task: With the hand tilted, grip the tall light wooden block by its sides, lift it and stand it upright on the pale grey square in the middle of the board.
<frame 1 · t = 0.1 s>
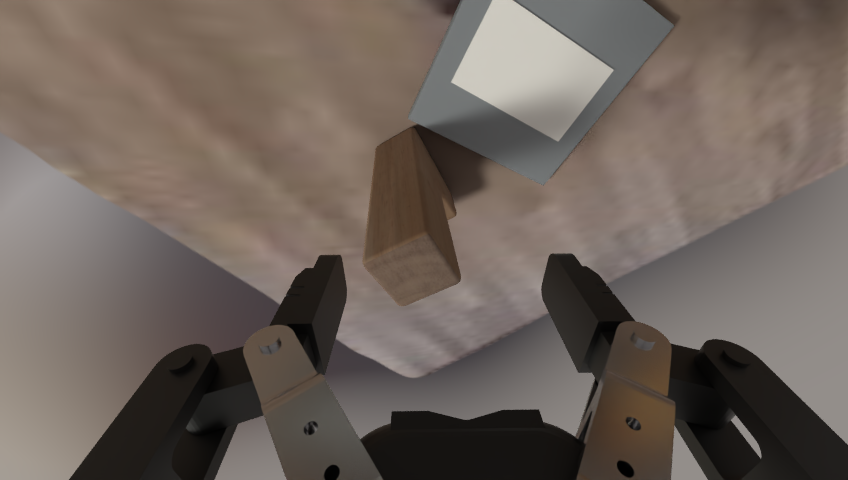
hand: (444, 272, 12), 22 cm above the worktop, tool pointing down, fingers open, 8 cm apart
wooden block: (415, 171, 34), on the worktop
socket board: (527, 72, 28), on the worktop
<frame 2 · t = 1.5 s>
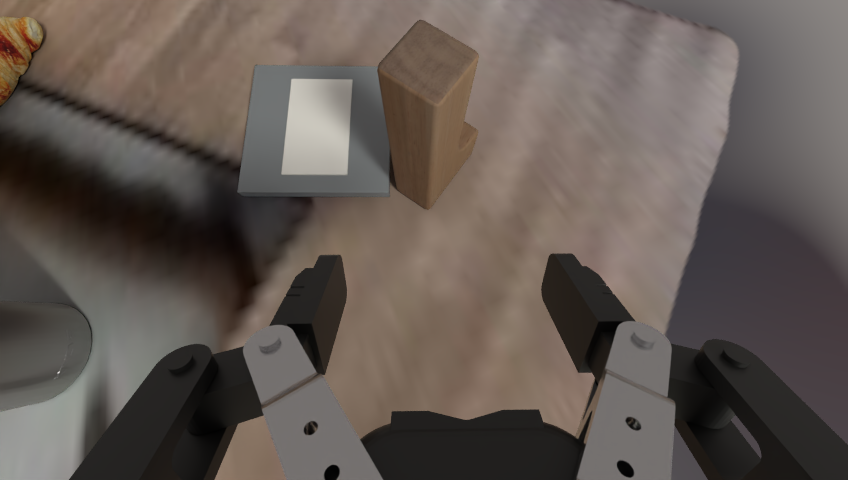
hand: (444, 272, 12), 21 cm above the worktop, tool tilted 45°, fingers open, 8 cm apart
wooden block: (434, 171, 36), on the worktop
socket board: (321, 131, 37), on the worktop
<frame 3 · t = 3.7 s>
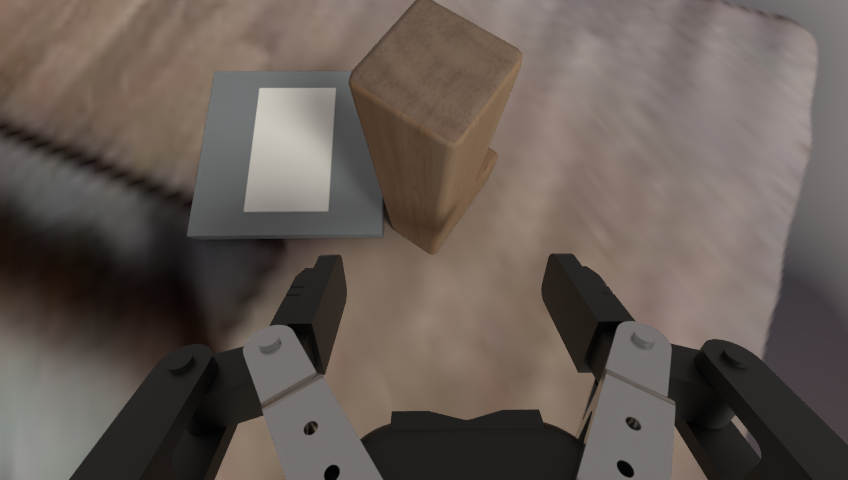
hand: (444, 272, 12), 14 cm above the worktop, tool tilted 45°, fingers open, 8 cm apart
wooden block: (440, 203, 29), on the worktop
socket board: (297, 154, 29), on the worktop
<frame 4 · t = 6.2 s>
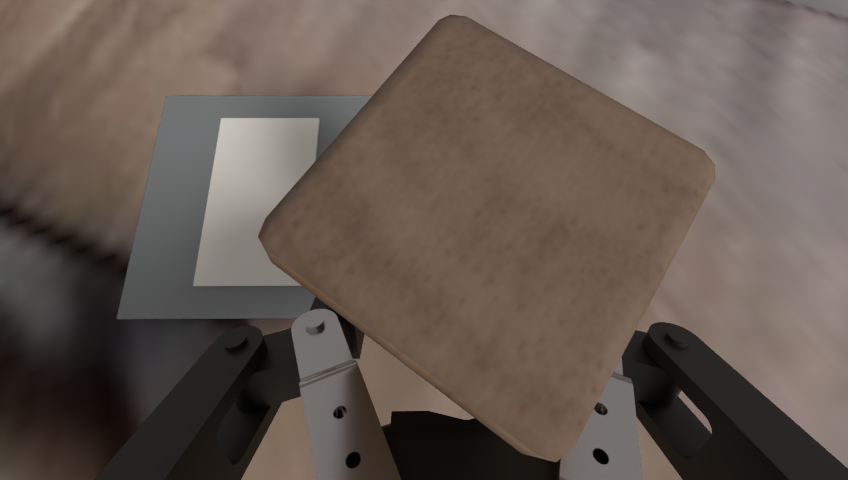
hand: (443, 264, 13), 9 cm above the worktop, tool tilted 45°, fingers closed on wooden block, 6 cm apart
wooden block: (453, 269, 22), on the worktop, touching gripper
socket board: (269, 203, 23), on the worktop
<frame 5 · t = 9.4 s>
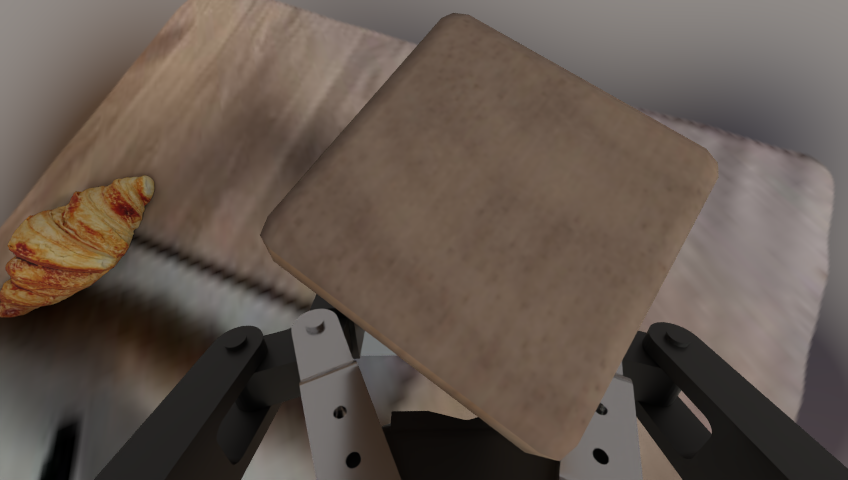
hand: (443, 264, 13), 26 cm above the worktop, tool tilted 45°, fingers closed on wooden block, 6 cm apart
wooden block: (453, 269, 22), point 16 cm above the worktop, touching gripper
socket board: (422, 283, 38), on the worktop
croissant: (101, 247, 40), on the worktop
when the fingers open (11 cm above the worktop, at t = 12.7 s): wooden block stays where it is, resting on socket board.
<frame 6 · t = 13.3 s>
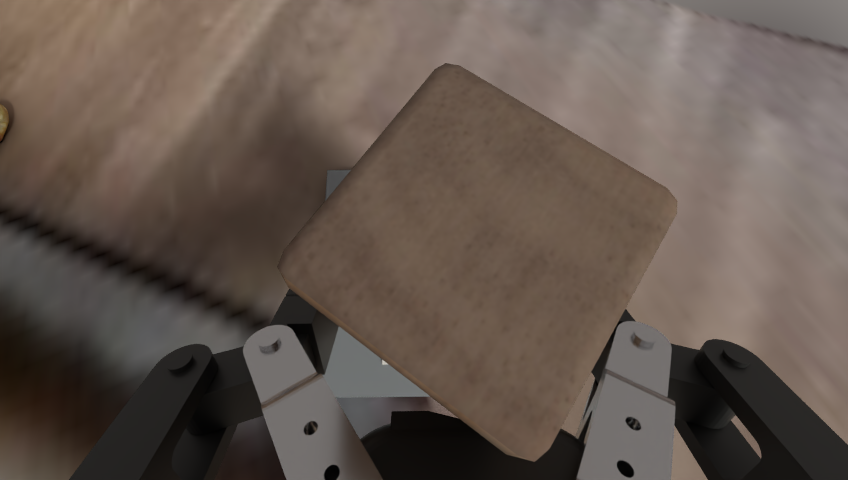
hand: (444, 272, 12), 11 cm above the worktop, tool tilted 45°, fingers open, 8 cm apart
wooden block: (452, 274, 23), point 1 cm above the worktop, touching socket board
socket board: (433, 275, 24), on the worktop
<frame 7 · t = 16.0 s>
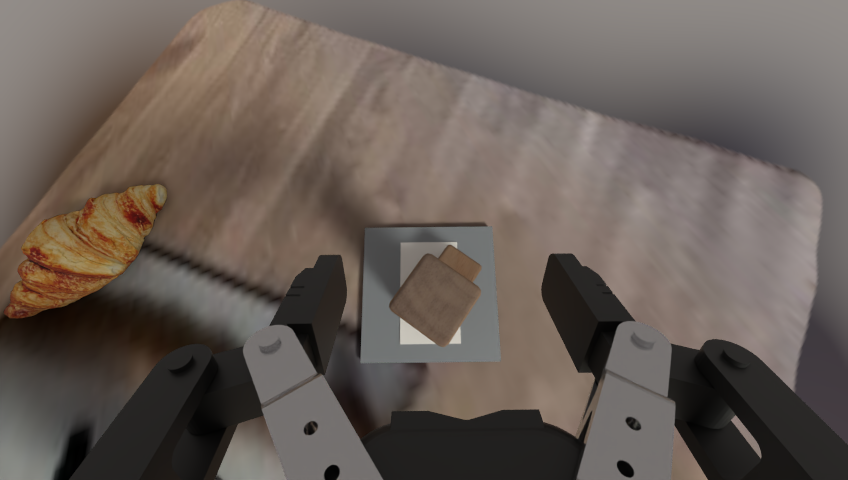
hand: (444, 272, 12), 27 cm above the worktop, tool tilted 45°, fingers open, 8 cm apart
wooden block: (440, 291, 38), point 1 cm above the worktop, touching socket board
socket board: (429, 292, 39), on the worktop
croissant: (111, 251, 41), on the worktop
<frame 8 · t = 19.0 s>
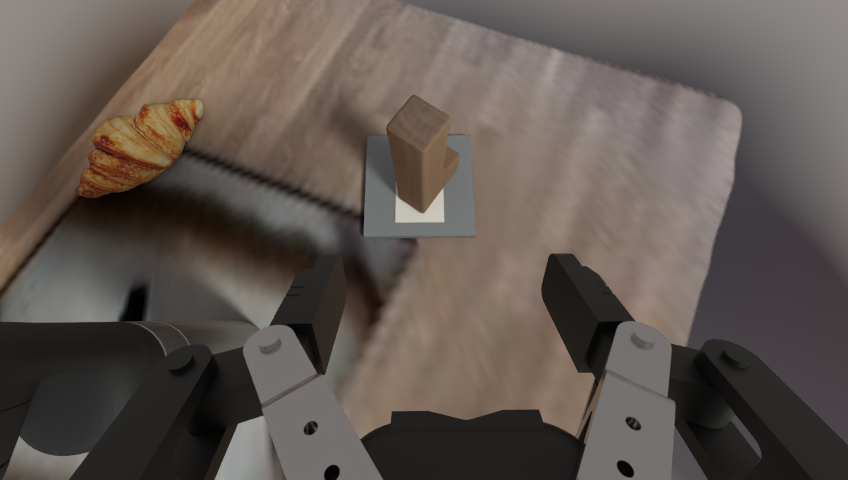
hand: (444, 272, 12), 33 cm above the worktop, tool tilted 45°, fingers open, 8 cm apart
wooden block: (428, 184, 47), point 1 cm above the worktop, touching socket board
socket board: (419, 186, 48), on the worktop
croissant: (157, 154, 50), on the worktop
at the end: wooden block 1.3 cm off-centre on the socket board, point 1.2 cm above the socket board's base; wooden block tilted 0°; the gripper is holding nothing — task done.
